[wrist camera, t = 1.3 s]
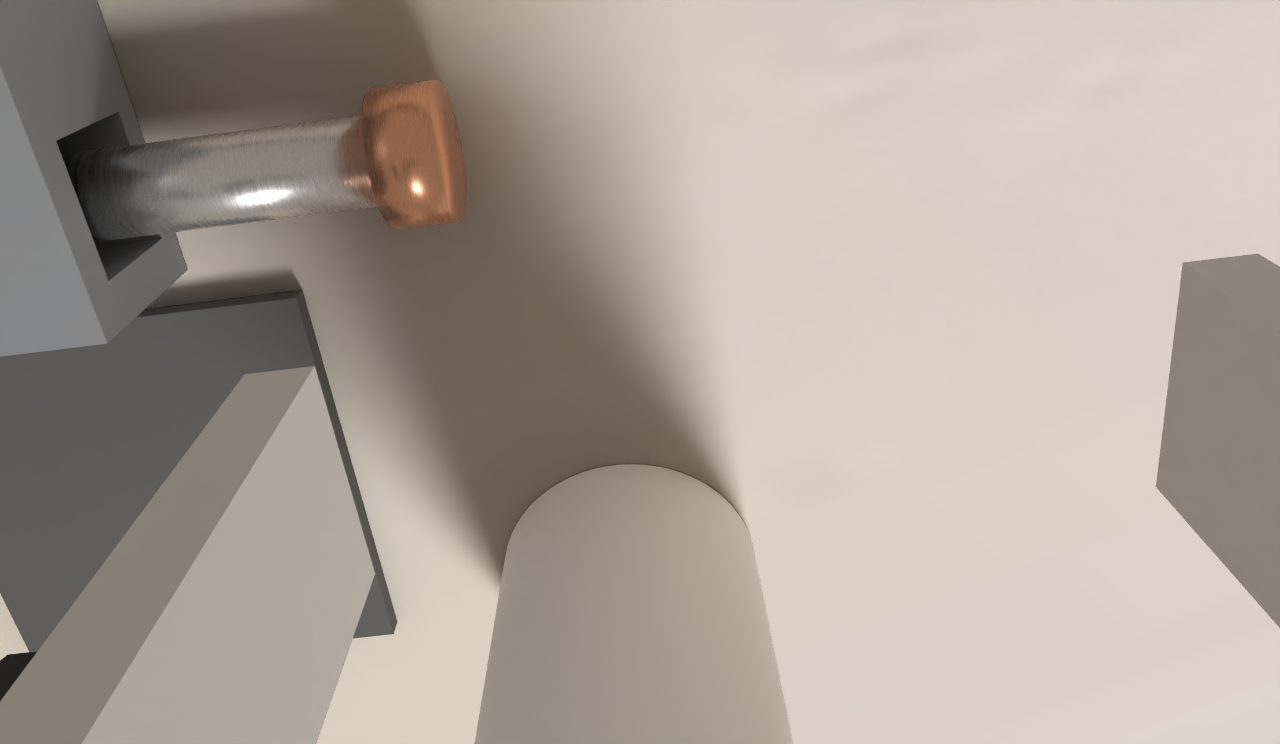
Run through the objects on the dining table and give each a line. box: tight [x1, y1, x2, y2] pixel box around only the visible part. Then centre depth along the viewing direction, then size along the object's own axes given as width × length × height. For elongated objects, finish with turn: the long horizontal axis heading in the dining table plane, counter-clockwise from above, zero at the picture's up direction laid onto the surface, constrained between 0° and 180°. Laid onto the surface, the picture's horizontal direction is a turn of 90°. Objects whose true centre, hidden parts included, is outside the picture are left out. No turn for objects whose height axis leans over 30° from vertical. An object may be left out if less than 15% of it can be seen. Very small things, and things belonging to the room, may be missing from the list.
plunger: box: [61, 79, 466, 242], centre depth 25 cm, size 10×3×3 cm, turn 97°
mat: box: [0, 290, 397, 652], centre depth 31 cm, size 12×12×1 cm
